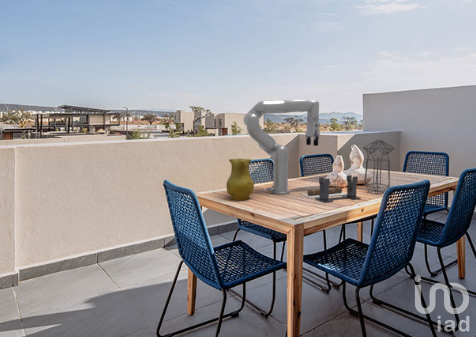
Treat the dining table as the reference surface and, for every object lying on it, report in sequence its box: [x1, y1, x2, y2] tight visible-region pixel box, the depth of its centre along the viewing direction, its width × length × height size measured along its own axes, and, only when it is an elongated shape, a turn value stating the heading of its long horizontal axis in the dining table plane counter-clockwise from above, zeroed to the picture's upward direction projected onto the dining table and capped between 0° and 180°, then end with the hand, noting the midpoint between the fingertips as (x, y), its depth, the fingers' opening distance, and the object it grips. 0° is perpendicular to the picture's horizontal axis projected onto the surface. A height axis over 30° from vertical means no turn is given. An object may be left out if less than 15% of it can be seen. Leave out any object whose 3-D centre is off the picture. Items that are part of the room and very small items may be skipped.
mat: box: [300, 191, 347, 199], centre depth 230 cm, size 28×12×1 cm, turn 111°
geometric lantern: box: [362, 139, 396, 195], centre depth 234 cm, size 16×16×35 cm
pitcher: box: [225, 158, 255, 201], centre depth 222 cm, size 17×19×25 cm
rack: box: [314, 174, 362, 204], centre depth 216 cm, size 26×10×14 cm, turn 111°
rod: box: [306, 186, 343, 196], centre depth 230 cm, size 24×4×4 cm, turn 111°
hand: (312, 145), depth 240 cm, fingers open, 9 cm apart
